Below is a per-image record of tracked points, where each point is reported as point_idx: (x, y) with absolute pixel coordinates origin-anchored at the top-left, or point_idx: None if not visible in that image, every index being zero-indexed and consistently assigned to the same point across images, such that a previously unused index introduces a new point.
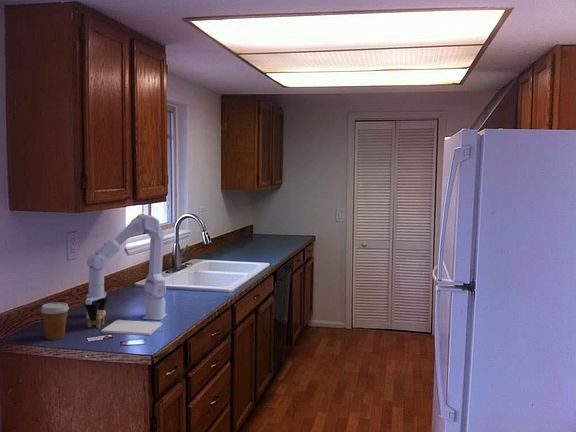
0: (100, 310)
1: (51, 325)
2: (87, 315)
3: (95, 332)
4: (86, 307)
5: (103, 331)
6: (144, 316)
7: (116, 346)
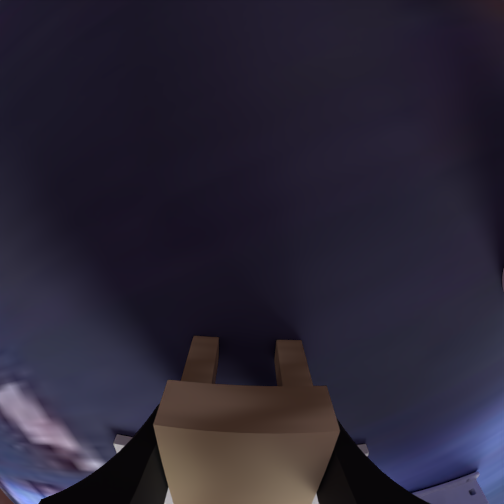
0: (298, 490)
1: None
2: (161, 410)
3: (99, 408)
4: (68, 494)
5: (117, 445)
6: (423, 493)
7: (14, 470)
